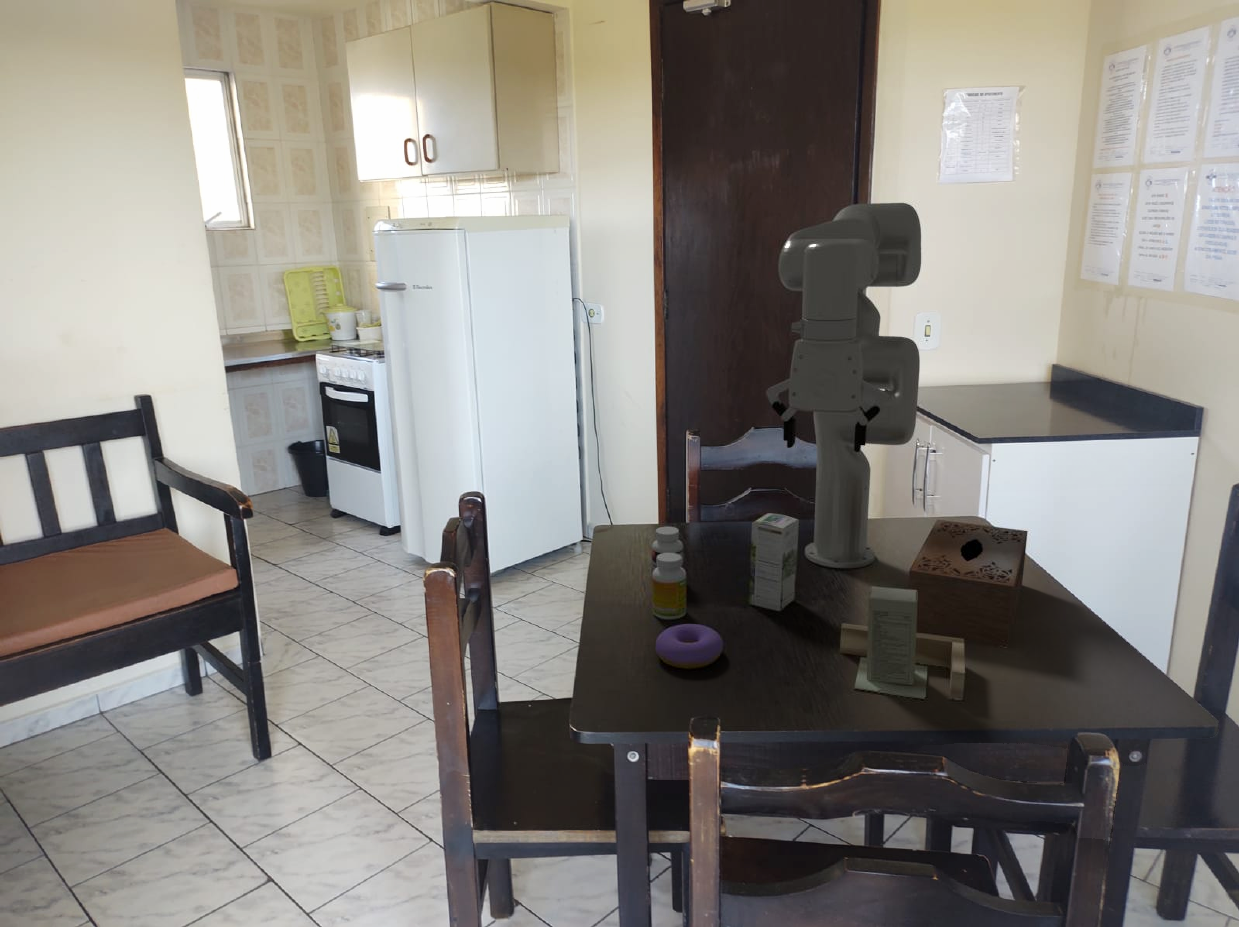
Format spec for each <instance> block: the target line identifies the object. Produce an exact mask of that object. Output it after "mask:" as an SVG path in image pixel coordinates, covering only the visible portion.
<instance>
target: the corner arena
mask: <svg viewBox="0 0 1239 927" xmlns="http://www.w3.org/2000/svg"><path fill="white" fill-rule="evenodd" d="M840 629H841V630H840V645H839V649H840V650H839V653H840V654H846V655H854V656H860V659H859V663H858V667H857V668H858V669H857V675H856V679H855V684H854V688H853V690H854V689H859V690H858V691H860V690H870V691H872V690H873V691H878V690H885V691H879V692H883V693H890V694H899V695H902V694H903V696H905V694H907V695H906V696H910V697H920V698H922V697H923V698H924V697H927V681H928V680H927V678H928V666H931V665H935V666H934V667H938V666H943V667H942V668H945V667H950V668H949V677H950V678H949V682H950V683H949V685H950V686H949V687H950V688H949V698H950V697H951V698H958V699H961V700H963V699H964V688H965V676H966V667H965V666H966V664H965V662H966V659H965V641H964V639H961V638H954V637H946V636H938V635H932V634H927V633H921V632H916V649H915V670H914V684H913V685H907V684H898V683H889V682H881V681H873V680H867V640H868V625H867V626H866V625H858V624H853V623H852V624H851V623H844V622H843V623H841V628H840ZM916 663H922V664H916ZM924 664H926V665H924ZM927 664H928V665H927ZM879 687H881V688H879ZM882 687H883V688H882ZM885 687H886V688H885ZM898 687H899V688H898ZM901 687H902V688H901ZM886 690H887V691H886ZM892 690H893V691H892ZM898 690H900V691H898ZM901 690H903V692H902V691H901ZM904 690H906V691H904ZM907 690H908V691H907ZM908 694H909V695H908Z"/></svg>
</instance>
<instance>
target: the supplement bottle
mask: <svg viewBox="0 0 1239 927" xmlns="http://www.w3.org/2000/svg"><path fill="white" fill-rule="evenodd" d="M656 564H657V568H656V569H654V571H653V576H652V575H651V576H652V577H651V578H652V580H653V581H652V613H653V615H654V616H656V618H659V619H662V620H677V619H678V620H679V619H681V618H682V617H684V616H685V615H686V613H687V572H686V570H685V568H684V567H683V568H682V567H681V566H682V557H681V556H680V555H679V554H676V553H662V554H659V555H658V556H657V561H656Z"/></svg>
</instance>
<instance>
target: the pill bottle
mask: <svg viewBox="0 0 1239 927" xmlns="http://www.w3.org/2000/svg"><path fill="white" fill-rule="evenodd" d="M655 539H656V540H654V542H653V543H652V544H651V545H652V546H651V559H652V560H651V567H652V568H651V569H652V570H651V574H652V575H651V576H653V571H654V569H656V568H657V564H656V561H657V556H658V555H659V554H662V553H676V554H679V555H680V556H681V557H682V566H681V567H682V568H683V569H684V544H683V542H682V541H681V540H679V539H680V531H679V528H677V527H674V526H661V527H658V528H656V529H655ZM652 582H653V580H652Z"/></svg>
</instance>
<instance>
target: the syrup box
mask: <svg viewBox="0 0 1239 927" xmlns="http://www.w3.org/2000/svg"><path fill="white" fill-rule="evenodd" d="M799 521H800V520H799V519H798V518H794V517H791V516H788V515H784V514H779V513H772V512H770V513H766V514H764V515H763V516H762V517H760V518H758V519H757V520H755V521H753V522H751V538H750V539H751V540H750V544H751V545H750V567H749V568H750V570H749V595H748V596H749V598H748V602H749V603H748V604H749V605H752V606H756V607H760V608H764V609H766V610H767V609H768V610H771V611H772V610H773V611H777V612H781V611H783V610H784V609H785V608H786V607H788V606H789V605H790V604H791V603H793V602H794V601H795V600H796V582H797V564H798V563H797V562H798V545H799V544H798V543H799V542H798V541H799V523H800V522H799Z"/></svg>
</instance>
